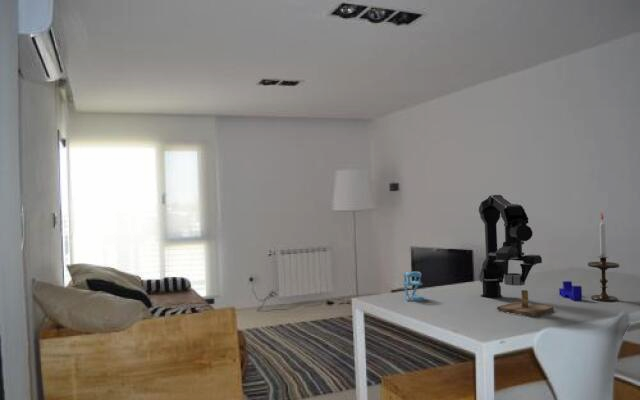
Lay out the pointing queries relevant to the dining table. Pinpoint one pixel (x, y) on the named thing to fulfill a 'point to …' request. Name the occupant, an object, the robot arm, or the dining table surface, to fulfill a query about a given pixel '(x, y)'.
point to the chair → (410, 283)
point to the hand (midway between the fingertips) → (514, 281)
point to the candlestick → (603, 267)
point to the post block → (525, 307)
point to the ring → (513, 279)
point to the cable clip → (571, 291)
